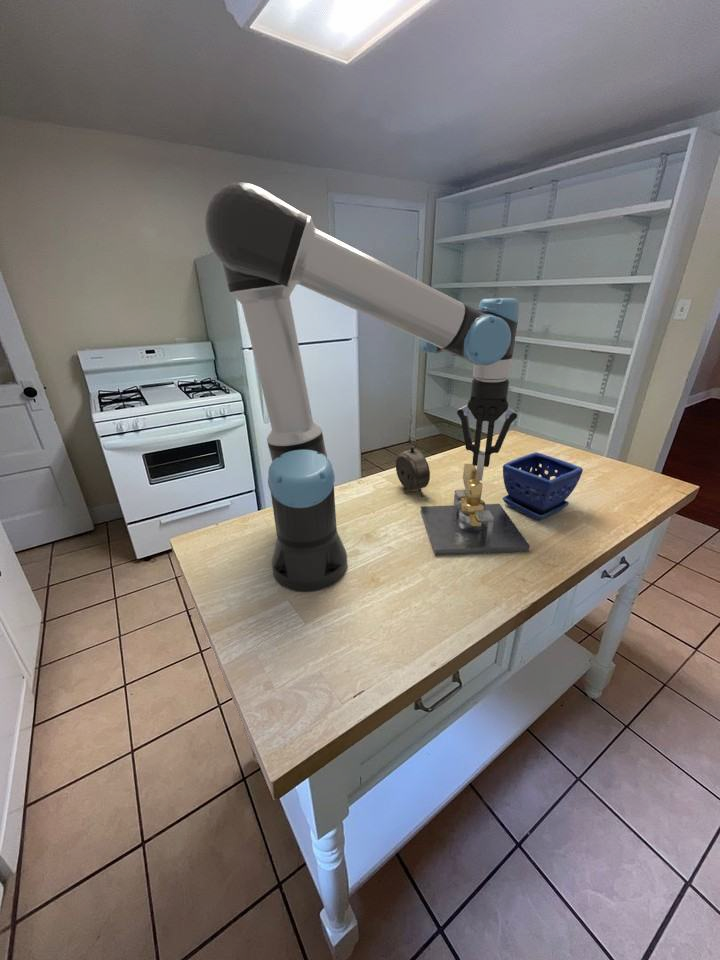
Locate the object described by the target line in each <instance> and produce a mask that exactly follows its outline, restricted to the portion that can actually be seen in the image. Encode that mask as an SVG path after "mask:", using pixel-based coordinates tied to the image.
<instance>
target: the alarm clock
mask: <svg viewBox="0 0 720 960" xmlns="http://www.w3.org/2000/svg"><path fill="white" fill-rule="evenodd" d="M411 439H414V442H415V445H414V446H413V445H412V446H411V443H410V440H411ZM417 443H418V442H417V440H416V438H415V437H414V436H412V435H411V436H409V438H408V446H409V448H410V449H408V450H405V451H402V452H400V453H399V454H398V455H397V457H396V459H395V471H396V475H397V478H398V480H399V482H400V484H401V485H402V486H403V490H402V493H403V494H404V493H405V492H406V490H407V491H410V492H414V491H418V493H419V495H420V497H421V498H423V497H424V494H423V491H422V489H424V488H427V486H428V485H429V482H430V480H431V479H430V478H431V471H430V466H429V463H428V461H427V459H426V457H425V455H424V454H423V453H422V452H421V451H420V450H419V449H417V448H416V447H417Z"/></svg>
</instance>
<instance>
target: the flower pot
mask: <svg viewBox="0 0 720 960" xmlns="http://www.w3.org/2000/svg"><path fill="white" fill-rule="evenodd" d="M540 465H541V466H540ZM583 470H584V468H583V467H581V466H578V465H576V464H574V463H570V462H568V461H565V460H562V459H560V458H559V459H558V458H556V457H553V456H549V455H548V454H547V455H546V454H543V453H541V452H536V451H535V452H532V453H529V454H526V455H523V456H520V457H518V458H516V459H513V460H511V461H508V462H506V463H504V464H503V465H502V479H503V483H504V487H505V491H506V492H507V494H506V495H504V496H502V500H503V502H504V503H505V504H506V505H507V506H508V507H510V508H513V509H514V510H516V511H518V512H521V513H522V514H524V515H527V516H528V517H531V518H533V519H534V520H536V521H540V520H543V519H545V518H547V517H549V516H551V515H553V514H555V513H557V512H559V511H561V510H563V509H564V508H566V507H567V506H568V505H569V504H570V503H569V502H568V501H567V500H566V499H567V498H568V497H569V496H570V495H571V494H572V493H573V491H574V490H575V488H576V487H577V485H578V483H579V481H580V479H581V476H582V474H583ZM546 472H547V473H546ZM552 477H554V478H553V479H551V478H552Z"/></svg>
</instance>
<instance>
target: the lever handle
mask: <svg viewBox="0 0 720 960" xmlns="http://www.w3.org/2000/svg"><path fill="white" fill-rule="evenodd" d="M462 481H463V486H464V490H466V494H467V498H464V499H462V500H461V508H460V510H461V512H462V513H463V514H465V515H468V516H470V523H471V526H481V521H478V519H477V518H476V516H475V514H474V511H482V510H485V504H486V502H485V501H484V500H483V499H482V491H483V483H482V482H481V481H480V479H479V476H478V473H477V466H473V464H472V463H464V464H463V473H462Z"/></svg>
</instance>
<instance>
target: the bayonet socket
mask: <svg viewBox="0 0 720 960" xmlns="http://www.w3.org/2000/svg"><path fill="white" fill-rule="evenodd" d="M453 495H454V496H453V505H428V506H427V505H424V506H420V514H421V517H422V521H423V523H424V526H425V530H426V533H427V536H428V539H429V542H430V545H431V549H432V551H433V554H434V556H457V555H459V556H460V555H484V554H485V555H487V554H514V553H530V549H531V546H530V544H529V543H528V542H527V540H526V538H525V537H524V535H523V534H522V533H521V531H520V530H519V529H518V527H517V526H516V524H515V523H514V522H513V520H512V519H511V517H510V516H509V514H508V513H507V512H506V510H505V509H504V508H503V506H502V505H501V504H500V503H485V510H482V511H474V514H475V516H476V518H477V519H478V521H481V526H471V523H470V516H468V515H465V514H463V513H462V512H461V510H460V508H461V500H462V499H464V498H467V494H466V490H465V489H454V494H453Z"/></svg>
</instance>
